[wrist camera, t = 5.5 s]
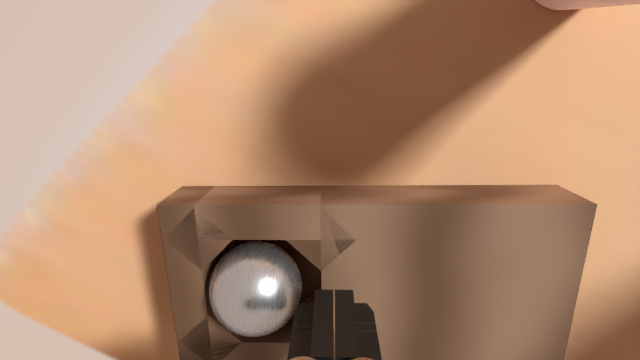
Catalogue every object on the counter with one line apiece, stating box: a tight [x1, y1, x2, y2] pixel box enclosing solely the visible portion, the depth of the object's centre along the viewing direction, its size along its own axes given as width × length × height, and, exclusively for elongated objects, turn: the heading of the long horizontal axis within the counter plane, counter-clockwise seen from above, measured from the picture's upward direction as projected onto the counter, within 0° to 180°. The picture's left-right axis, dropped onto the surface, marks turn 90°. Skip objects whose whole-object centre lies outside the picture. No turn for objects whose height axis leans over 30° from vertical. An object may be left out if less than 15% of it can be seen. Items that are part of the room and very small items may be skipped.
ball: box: [209, 241, 302, 337], centre depth 16 cm, size 4×4×4 cm
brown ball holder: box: [157, 185, 597, 360], centre depth 16 cm, size 17×8×2 cm, turn 91°
